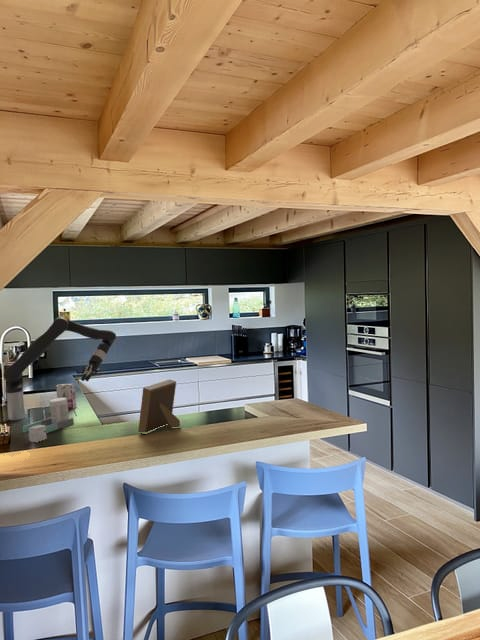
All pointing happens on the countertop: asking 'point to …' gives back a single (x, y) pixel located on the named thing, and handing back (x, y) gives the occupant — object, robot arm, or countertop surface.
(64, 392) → the candy bar box
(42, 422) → the chute
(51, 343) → the robot arm
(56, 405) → the supplement tub
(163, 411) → the photo frame
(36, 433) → the skincare box
